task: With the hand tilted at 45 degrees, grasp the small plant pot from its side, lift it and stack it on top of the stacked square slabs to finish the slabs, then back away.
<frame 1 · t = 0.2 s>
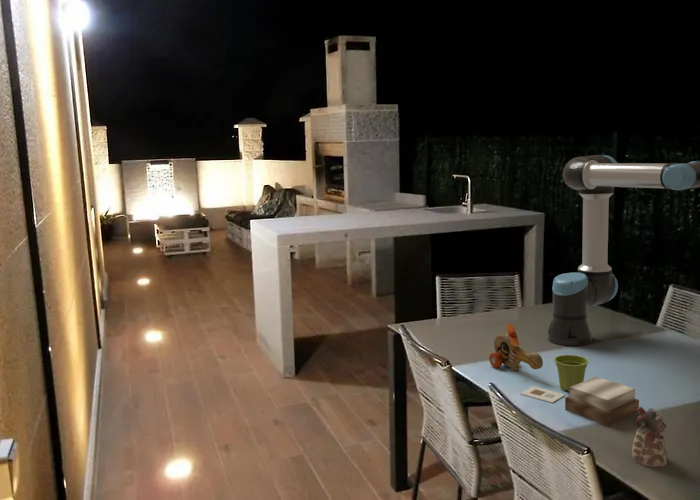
figurine: (649, 460, 144), on the table
stacked square slabs: (601, 411, 169), on the table
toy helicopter: (515, 371, 201), on the table
plant pot: (570, 389, 185), on the table
instruction page: (542, 394, 182), on the table
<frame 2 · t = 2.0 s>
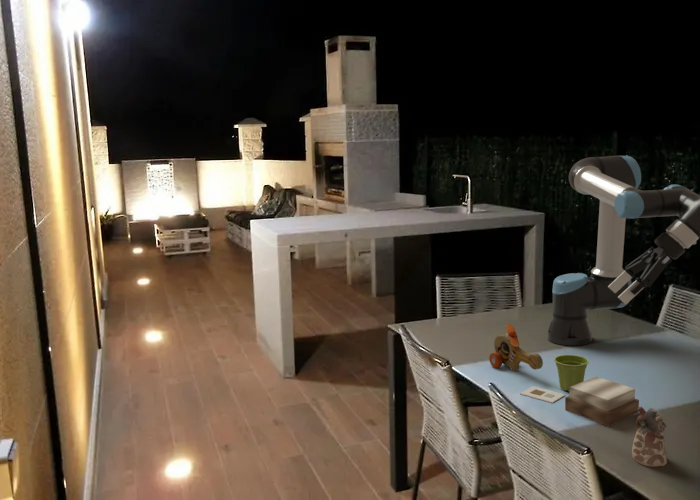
hand: (616, 295, 179), 28 cm above the table, tool tilted 45°, fingers open, 13 cm apart
nothing on the table moved.
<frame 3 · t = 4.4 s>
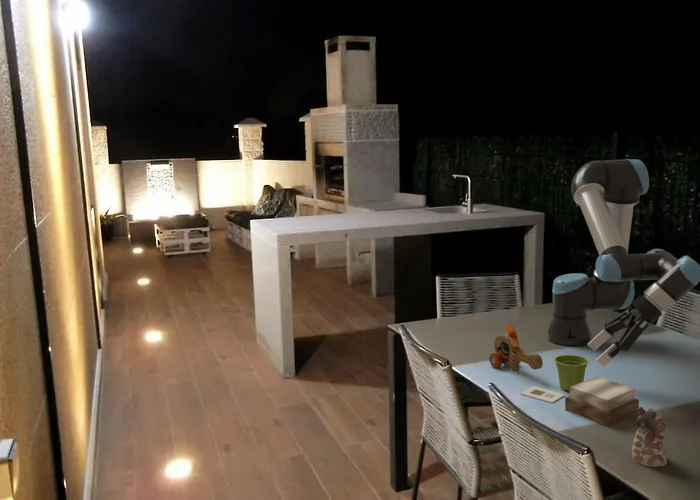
hand: (595, 355, 181), 11 cm above the table, tool tilted 45°, fingers open, 13 cm apart
nothing on the table moved.
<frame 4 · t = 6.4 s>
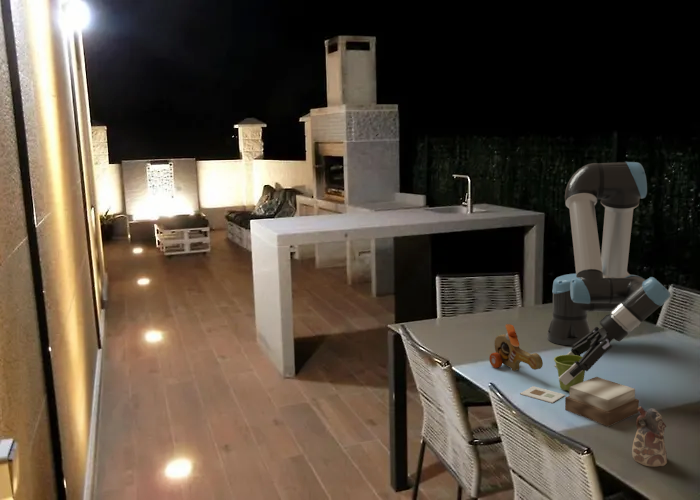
hand: (559, 375, 185), 4 cm above the table, tool tilted 45°, fingers closed on plant pot, 9 cm apart
plant pot: (571, 388, 185), on the table, touching gripper
everything else where it was.
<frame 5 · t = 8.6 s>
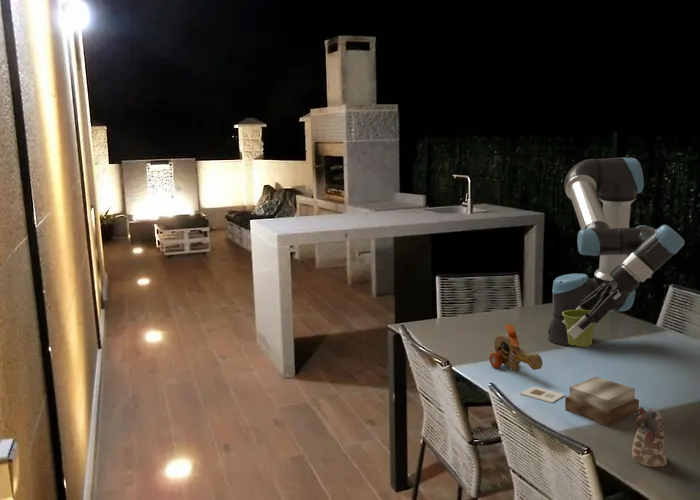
hand: (568, 330, 177), 19 cm above the table, tool tilted 45°, fingers closed on plant pot, 9 cm apart
plant pot: (579, 344, 177), point 15 cm above the table, touching gripper
everything else where it was.
when the fingers open (12 cm above the table, at t = 10.8 s): plant pot drops 1 cm, resting on stacked square slabs.
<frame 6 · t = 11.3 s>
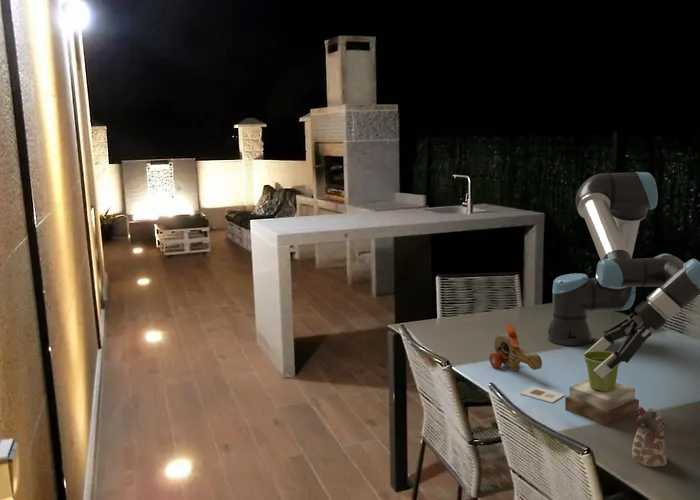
hand: (593, 365, 168), 13 cm above the table, tool tilted 45°, fingers open, 13 cm apart
plant pot: (602, 388, 168), point 6 cm above the table, touching stacked square slabs
everything else where it was.
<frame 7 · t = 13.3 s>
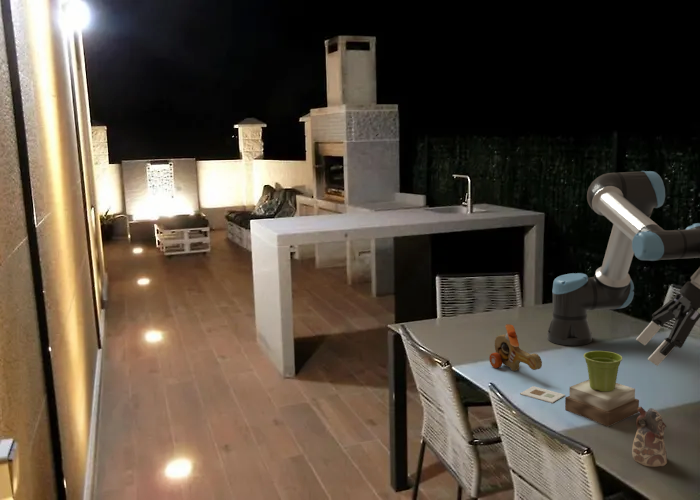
hand: (646, 352, 167), 16 cm above the table, tool tilted 35°, fingers open, 13 cm apart
nothing on the table moved.
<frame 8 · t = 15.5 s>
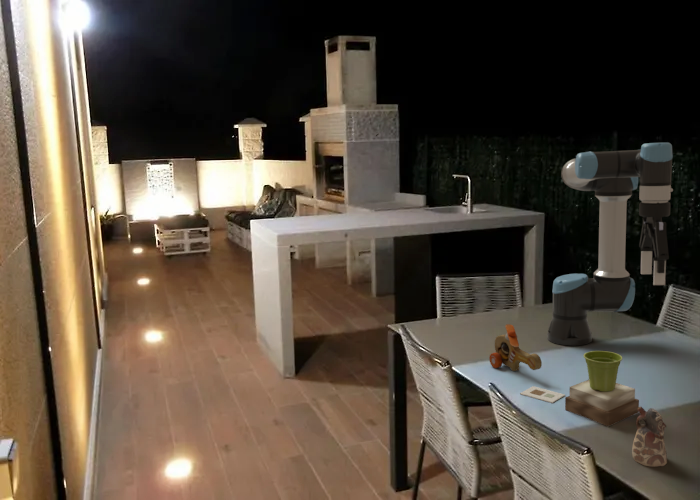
hand: (652, 279, 174), 33 cm above the table, tool pointing down, fingers open, 13 cm apart
nothing on the table moved.
at the end: plant pot inside the target area on the stacked square slabs (0.1 cm from its centre), point 6.3 cm above the stacked square slabs's base; plant pot tilted 0°; the gripper is holding nothing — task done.
